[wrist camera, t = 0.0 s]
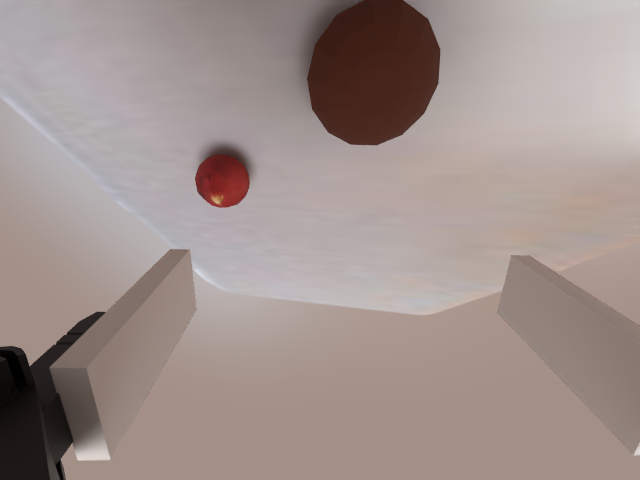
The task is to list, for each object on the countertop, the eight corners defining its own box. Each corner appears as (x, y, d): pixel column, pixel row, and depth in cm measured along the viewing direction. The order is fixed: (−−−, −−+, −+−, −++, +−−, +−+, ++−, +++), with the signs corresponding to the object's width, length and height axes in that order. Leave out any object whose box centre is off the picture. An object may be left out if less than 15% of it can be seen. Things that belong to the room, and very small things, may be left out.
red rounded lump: (208, 186, 42) (191, 223, 36) (200, 142, 39) (179, 176, 33) (255, 187, 43) (245, 224, 36) (250, 143, 39) (239, 177, 33)
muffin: (390, 132, 39) (410, 174, 31) (297, 106, 36) (293, 144, 29) (441, 13, 31) (484, 29, 24) (328, -28, 29) (334, -25, 22)
